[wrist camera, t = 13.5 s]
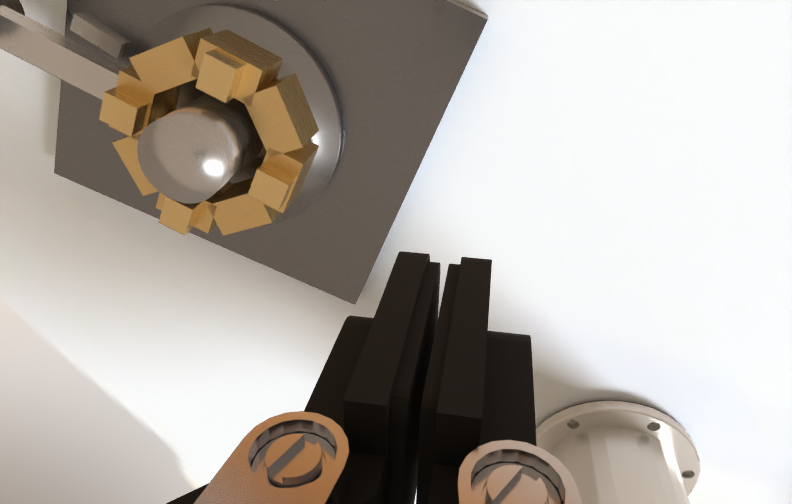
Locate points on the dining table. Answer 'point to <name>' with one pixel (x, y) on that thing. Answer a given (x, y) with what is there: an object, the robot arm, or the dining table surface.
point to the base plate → (376, 113)
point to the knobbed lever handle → (158, 95)
